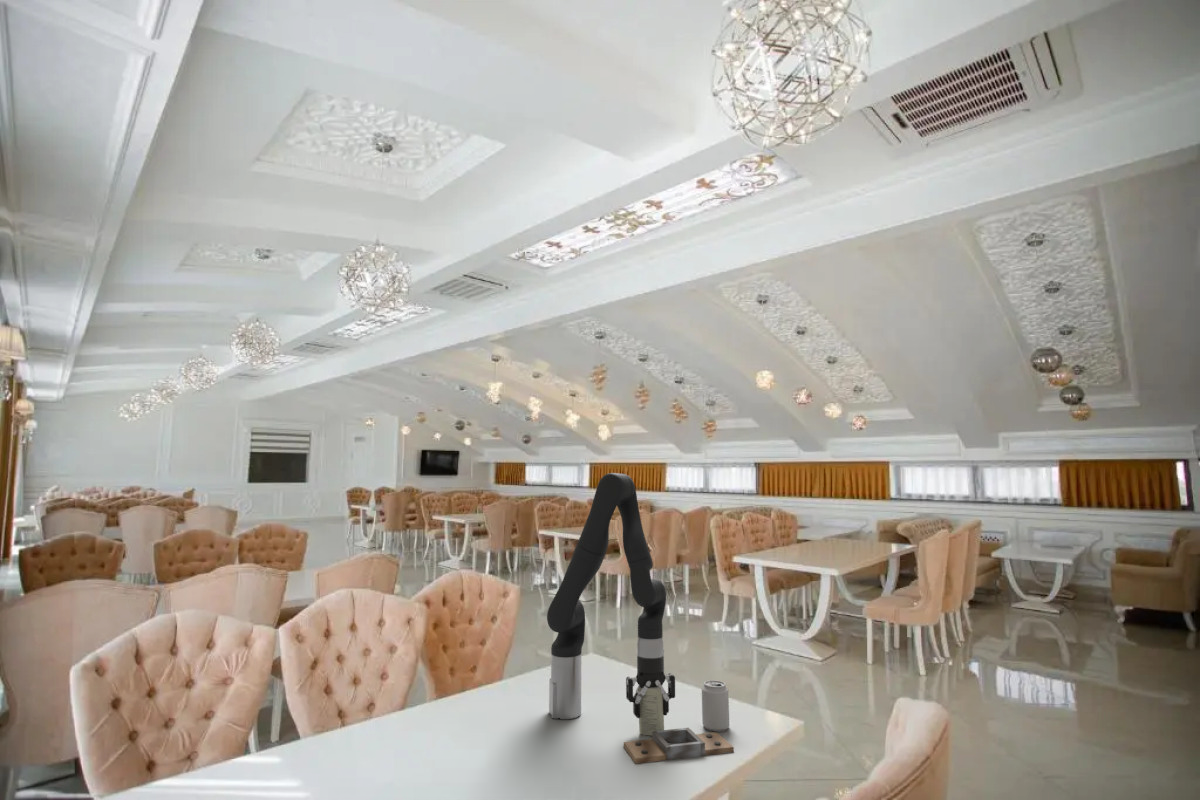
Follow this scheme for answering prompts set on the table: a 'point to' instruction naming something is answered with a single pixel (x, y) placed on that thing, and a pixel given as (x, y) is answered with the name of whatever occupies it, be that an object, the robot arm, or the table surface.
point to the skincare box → (651, 711)
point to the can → (715, 705)
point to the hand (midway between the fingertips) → (651, 715)
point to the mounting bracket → (676, 745)
